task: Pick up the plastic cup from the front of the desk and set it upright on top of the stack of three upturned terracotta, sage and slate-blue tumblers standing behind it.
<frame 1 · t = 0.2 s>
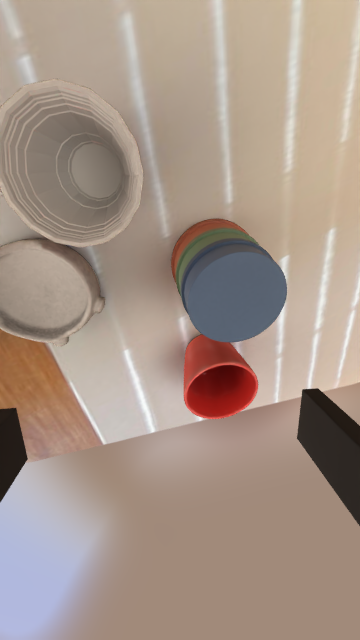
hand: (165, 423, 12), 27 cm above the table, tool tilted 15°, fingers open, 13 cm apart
cup stack: (212, 262, 36), on the table
dish: (50, 284, 36), on the table
flower pot: (207, 350, 45), on the table
plastic cup: (96, 169, 30), on the table
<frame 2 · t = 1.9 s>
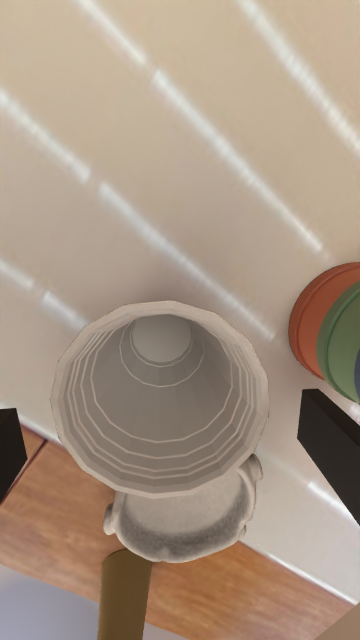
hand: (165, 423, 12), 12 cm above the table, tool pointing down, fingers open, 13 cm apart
cup stack: (346, 323, 25), on the table
dish: (185, 468, 29), on the table
wooden peg doll: (127, 565, 32), on the table
plastic cup: (160, 332, 24), on the table
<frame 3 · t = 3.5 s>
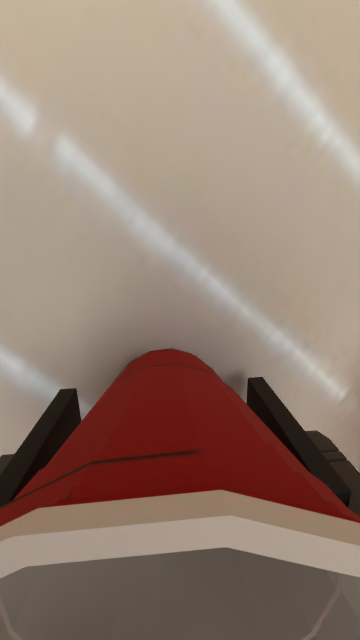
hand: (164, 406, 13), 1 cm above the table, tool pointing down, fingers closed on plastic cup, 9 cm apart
plastic cup: (164, 390, 15), on the table, touching gripper
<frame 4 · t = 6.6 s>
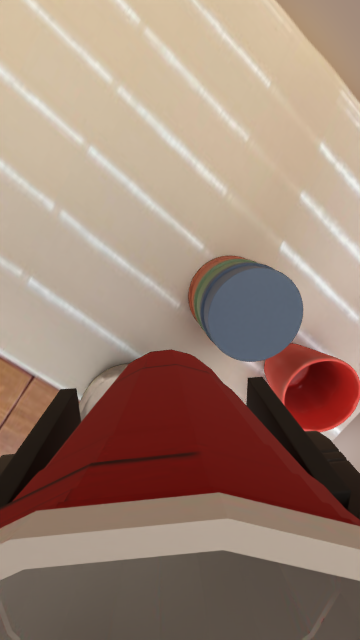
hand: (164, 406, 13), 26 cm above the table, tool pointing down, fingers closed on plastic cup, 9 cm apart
cup stack: (227, 295, 39), on the table
dish: (129, 398, 42), on the table
flower pot: (286, 363, 43), on the table
plastic cup: (164, 390, 15), point 24 cm above the table, touching gripper
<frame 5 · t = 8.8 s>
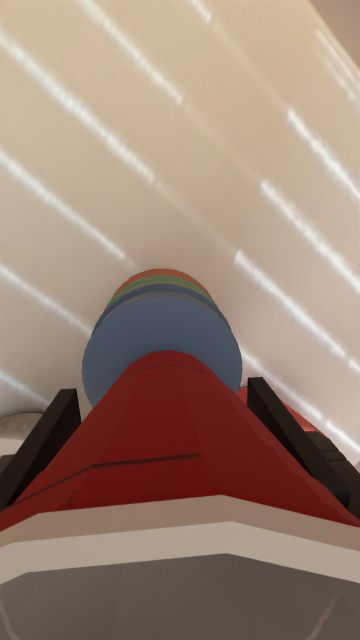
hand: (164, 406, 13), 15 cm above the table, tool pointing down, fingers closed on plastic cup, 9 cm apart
cup stack: (162, 323, 28), on the table
dish: (36, 455, 32), on the table
flower pot: (248, 412, 32), on the table
plastic cup: (164, 391, 15), point 14 cm above the table, touching gripper
when the fingers open (13 cm above the table, at t = 9.9 s): plastic cup stays where it is, resting on cup stack.
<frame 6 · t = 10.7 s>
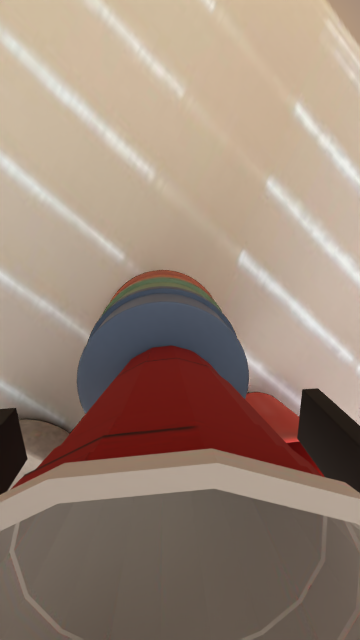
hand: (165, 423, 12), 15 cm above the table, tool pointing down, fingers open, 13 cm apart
cup stack: (163, 326, 27), on the table
dish: (32, 463, 31), on the table
flower pot: (252, 418, 31), on the table
plastic cup: (164, 385, 16), point 12 cm above the table, touching cup stack
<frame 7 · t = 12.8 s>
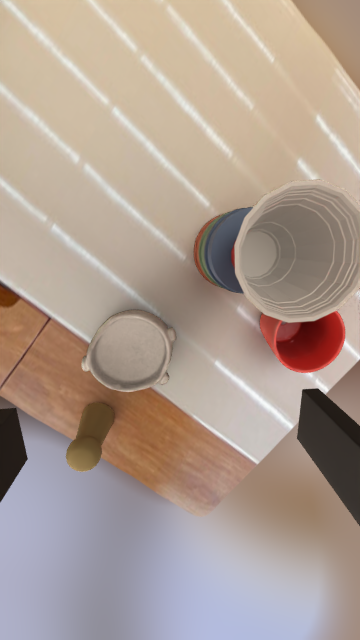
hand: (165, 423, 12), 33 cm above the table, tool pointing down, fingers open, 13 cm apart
cup stack: (228, 251, 43), on the table
dish: (135, 345, 46), on the table
flower pot: (280, 320, 47), on the table
wooden peg doll: (98, 415, 49), on the table
plastic cup: (252, 252, 32), point 12 cm above the table, touching cup stack
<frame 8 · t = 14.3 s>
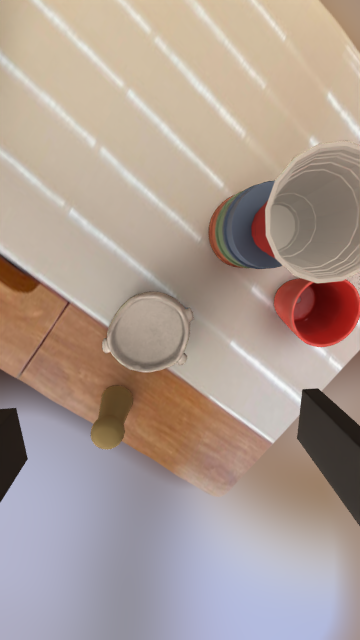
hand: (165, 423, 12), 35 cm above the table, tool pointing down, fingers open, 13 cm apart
cup stack: (242, 231, 44), on the table
dish: (152, 327, 47), on the table
flower pot: (293, 299, 48), on the table
wooden peg doll: (117, 398, 51), on the table
plastic cup: (271, 226, 32), point 12 cm above the table, touching cup stack
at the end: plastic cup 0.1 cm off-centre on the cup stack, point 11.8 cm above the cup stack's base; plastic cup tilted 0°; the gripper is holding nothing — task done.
